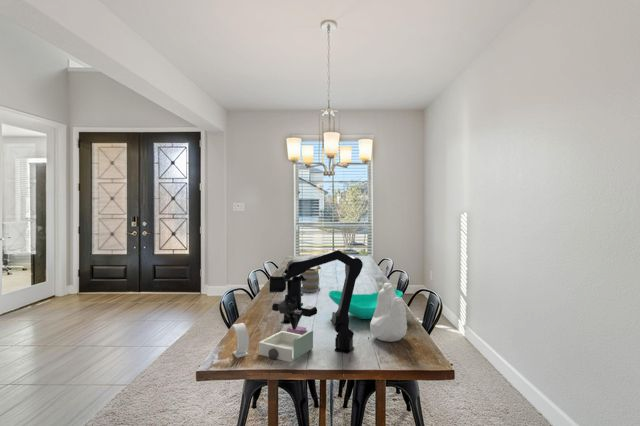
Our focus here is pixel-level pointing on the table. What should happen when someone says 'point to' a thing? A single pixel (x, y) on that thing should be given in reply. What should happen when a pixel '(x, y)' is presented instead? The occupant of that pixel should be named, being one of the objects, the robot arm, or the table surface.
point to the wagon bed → (278, 346)
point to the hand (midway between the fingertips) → (294, 329)
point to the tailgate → (302, 344)
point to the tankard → (311, 280)
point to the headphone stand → (241, 340)
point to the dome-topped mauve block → (297, 330)
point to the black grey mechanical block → (286, 320)
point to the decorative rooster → (389, 316)
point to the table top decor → (361, 303)
